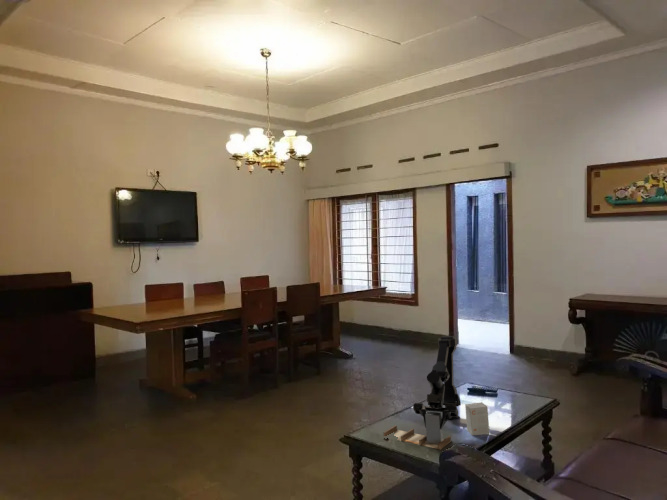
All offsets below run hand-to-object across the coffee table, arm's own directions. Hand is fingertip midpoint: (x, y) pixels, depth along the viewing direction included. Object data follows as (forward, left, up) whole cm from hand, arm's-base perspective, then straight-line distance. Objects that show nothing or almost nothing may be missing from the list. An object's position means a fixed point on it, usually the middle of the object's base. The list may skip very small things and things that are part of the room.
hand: (433, 428), depth 217 cm
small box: (-8, +22, -8) cm, 25 cm away
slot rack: (-8, -6, -8) cm, 12 cm away
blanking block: (-1, +1, -7) cm, 7 cm away
